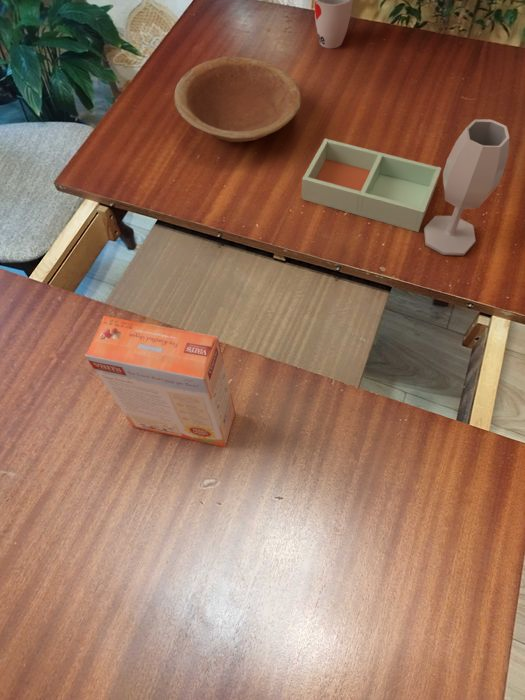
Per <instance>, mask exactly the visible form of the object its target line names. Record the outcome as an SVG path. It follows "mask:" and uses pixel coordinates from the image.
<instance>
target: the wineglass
mask: <svg viewBox="0 0 525 700" xmlns="http://www.w3.org/2000/svg"><path fill="white" fill-rule="evenodd" d="M509 150H510V133H509V130H508V126H507V125H504V124H502V123H500V122H498V121H495V120H494V119H492V118H491V119H473V121H471V122H470V123H469V124H468V125H467V126H466V127H465V129H464V130H463V131H462V133H461V134H460V136H458V138H457V139H456V141H455V143H454V145H453V147H452V149H451V150H450V153H449V155H448V157H447V159H446V162H445V166H444V169H443V172H442V190H443V196H444V201H445V202H447V203H448V204H450V205H452V206H454V209H453V212H452V215H434V217H433V218H432V219H431V220H430V221H428V223H427V224H426V225H425V226H424V227H423V234H424V236H423V237H424V244H425V245H424V246H426V247H428V248H429V249H431V250H433V251H435V252H437V253H439V254H440V255H442V256H465V255H466V254H467V252H469V250H470V249H471V248H472V247H473V246H474V245H475V243H476V242H477V240H476V234H475V228H474V224H471V223H470V222H468V221H466V220H464V219H462V215H463V212H464V210H467V209H469V210H478V209H479V208H480V207H482V206H483V204H484V203H485V202H486V201H487V200H488V199H489V197H490V196H491V195H492V194H493V193H494V192H495V190H496V189H497V188H498V186H499V185H500V182H501V180H502V177H503V175H504V173H505V169H506V164H507V161H508V156H509V153H510V151H509Z"/></svg>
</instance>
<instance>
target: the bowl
mask: <svg viewBox="0 0 525 700" xmlns="http://www.w3.org/2000/svg"><path fill="white" fill-rule="evenodd" d="M301 96H302V95H301V91H300V88H299V86H298V83H297V82H296V81H295V80H294V78H293V77H292V76H291V75H290V74H288V73H287V72H286V71H285V70H283V69H282V68H280V67H279V66H277V65H274V64H272V63H270V62H267V61H264V60H262V59H259V58H252V57H244V56H229V55H227V56H226V55H225V56H221V57H217V58H214V59H209V60H207V61H204V62H201V63H200V64H197V65H195V66H194V67H192V68H190V69H189V70H188V71H187V72H186V73H185V74H184V75H183V76H181V78H180V79H179V80H178V82H177V84H176V86H175V89H174V95H173V99H174V104H175V107H176V110H177V111H178V113H179V115H180V116H181V117H182V118H183V120H185V121H186V122H187V123H188V124H189V125H191V126H192V127H194V128H196V129H197V130H200V131H202V132H204V133H207V134H209V135H210V136H212V137H214V138H216V139H218V140H220V141H225V142H230V143H243V142H244V143H245V142H252V141H257V140H259V139H263V138H264V137H267V136H269V135H271V134H272V133H275V132H277V131H279V130H280V129H282V128H284V127H285V126H286V125H287V124H288V123H289V122H290V121H292V119H294V117H295V115H297V113H298V112H299V109H300V107H301V102H302V101H301V100H302V99H301V98H302V97H301Z"/></svg>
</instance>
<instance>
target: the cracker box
mask: <svg viewBox="0 0 525 700" xmlns="http://www.w3.org/2000/svg"><path fill="white" fill-rule="evenodd" d="M85 357H86V359H87V361H88V362H89V364H90V365H91V367H92V368H93V370H94V371H95V373H96V374H97V376H98V377H99V379H100V380H101V382H102V384H103V385H104V386H105V389H106V390H107V391H108V392H109V394H110V395H111V397H112V398H113V400H114V401H115V403H116V404H117V406H118V407H119V409H120V410H121V412H122V413H123V415H124V416H125V417H126V419H127V421H128V422H129V424H130V425H131V427H132V428H136V429H139V430H144V431H149V432H153V433H158V434H161V435H162V434H163V435H167V436H172V437H177V438H181V439H185V440H190V441H195V442H199V443H203V444H208V445H213V446H217V447H220V448H221V447H222V448H225V447H226V446H227V442H228V439H229V435H230V433H231V429H232V426H233V422H234V418H235V416H236V408H235V405H234V400H233V395H232V392H231V391H232V390H231V387H230V382H229V379H228V373H227V370H226V364H225V361H224V358H223V357H224V356H223V353H222V349H221V344H220V340H219V337H218V336H217V335H210V334H205V333H201V332H200V333H199V332H194V331H189V330H184V329H179V328H178V329H177V328H173V327H167V326H163V325H162V326H161V325H157V324H151V323H146V322H141V321H135V320H131V319H126V318H119V317H115V316H111V315H110V316H109V315H104V316H102V319H101V322H100V324H99V326H98V327H97V330H96V333H95V334H94V337H93V339H92V341H91V343H90V346H89V347H88V350H87V351H86V353H85Z"/></svg>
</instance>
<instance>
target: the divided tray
mask: <svg viewBox="0 0 525 700" xmlns="http://www.w3.org/2000/svg"><path fill="white" fill-rule="evenodd" d="M441 171H442V167H440V166H436V165H432V164H428V163H423V162H421V161H416V160H412V159H409V158H404V157H400V156H396V155H392V154H388V153H384V152H380V151H377V150H372V149H370V148H368V149H367V148H364V147H361V146H356V145H353V144H348V143H345V142H341V141H338V140H333V139H329V138H324V139H323V140H322V142H321V144H320V147H319V148H318V149H317V152H316V153H315V155H314V157H313V159H312V160H311V163H310V164H309V166H308V167H307V170H306V172H305V173H304V174H303V176H302V179H301V182H302V183H301V200H302V201H307V202H309V203H313V204H316V205H321V206H324V207H328V208H331V209H335V210H338V211H343V212H346V213H349V214H353V215H356V216H359V217H363V218H366V219H370V220H373V221H377V222H381V223H384V224H386V225H387V224H388V225H392V226H395V227H398V228H402V229H405V230H408V231H412V232H416V233H419V232H420V229H421V227H422V224H423V221H424V218H425V216H426V214H427V211H428V208H429V206H430V203H431V201H432V198H433V196H434V193H435V191H436V188H437V186H438V182H439V178H440V175H441Z"/></svg>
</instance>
